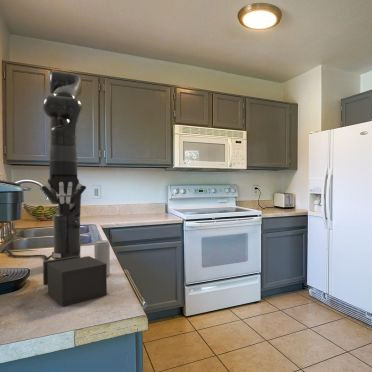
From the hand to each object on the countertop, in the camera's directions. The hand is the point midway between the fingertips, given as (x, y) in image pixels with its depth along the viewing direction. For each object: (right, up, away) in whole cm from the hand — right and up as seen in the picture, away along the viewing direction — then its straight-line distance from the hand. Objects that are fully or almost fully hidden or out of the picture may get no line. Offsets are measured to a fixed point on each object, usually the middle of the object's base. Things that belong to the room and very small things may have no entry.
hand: (64, 215), depth 99 cm
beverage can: (+7, -22, +11) cm, 26 cm away
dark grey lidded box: (+8, -22, -7) cm, 25 cm away
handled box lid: (+1, -21, 0) cm, 21 cm away
